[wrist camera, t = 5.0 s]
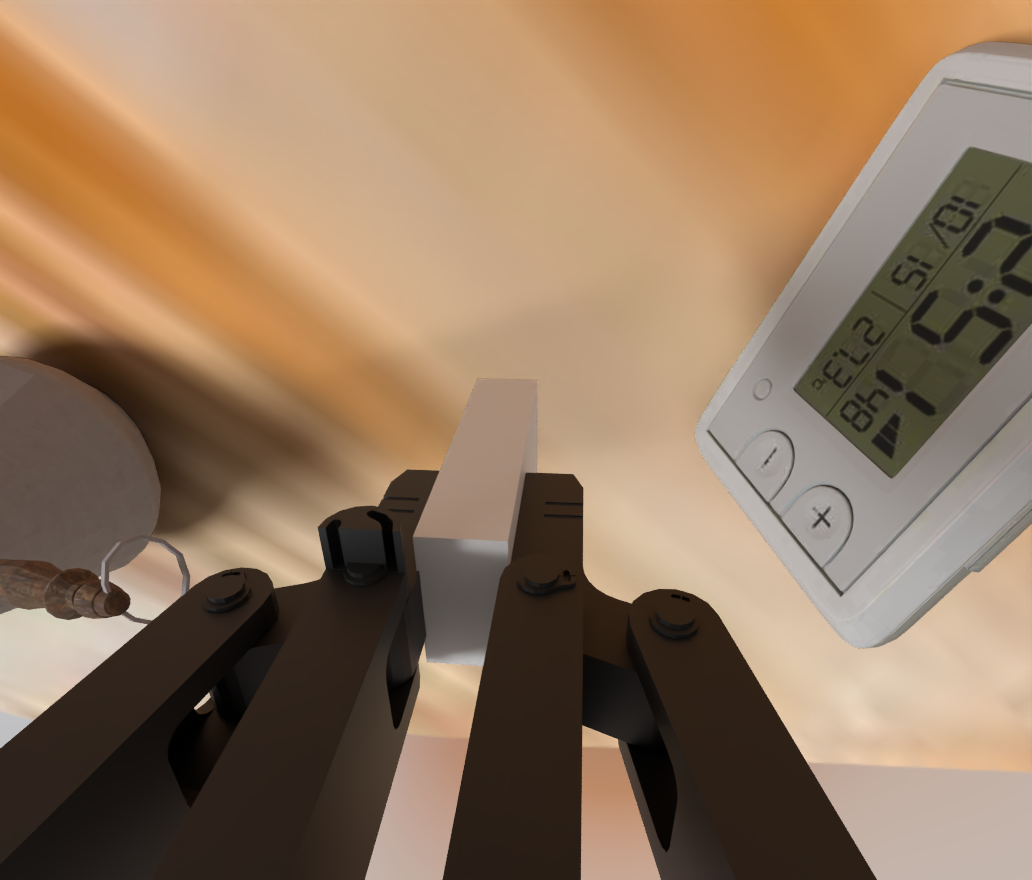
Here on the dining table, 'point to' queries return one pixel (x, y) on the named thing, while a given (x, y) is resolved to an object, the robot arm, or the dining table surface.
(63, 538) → the coffee pot
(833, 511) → the digital clock
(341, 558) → the robot arm
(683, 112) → the dining table surface
